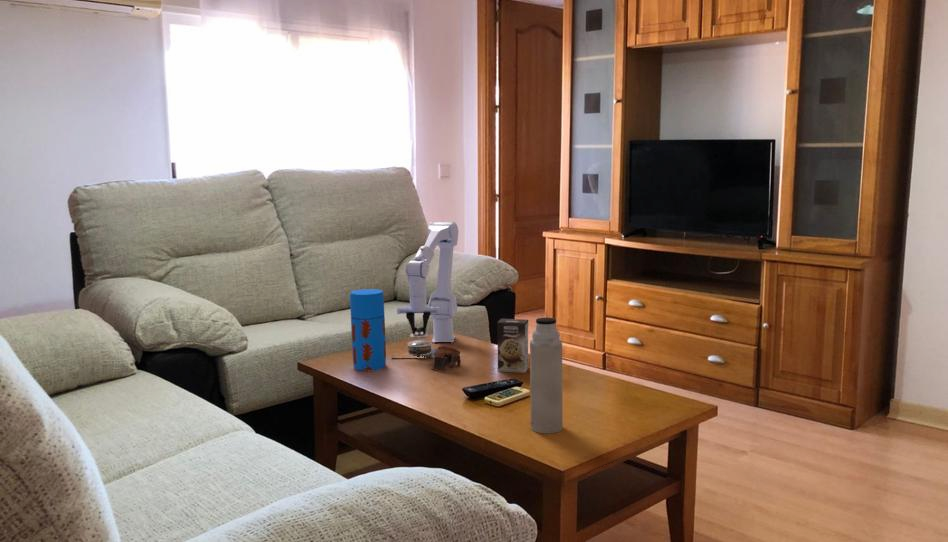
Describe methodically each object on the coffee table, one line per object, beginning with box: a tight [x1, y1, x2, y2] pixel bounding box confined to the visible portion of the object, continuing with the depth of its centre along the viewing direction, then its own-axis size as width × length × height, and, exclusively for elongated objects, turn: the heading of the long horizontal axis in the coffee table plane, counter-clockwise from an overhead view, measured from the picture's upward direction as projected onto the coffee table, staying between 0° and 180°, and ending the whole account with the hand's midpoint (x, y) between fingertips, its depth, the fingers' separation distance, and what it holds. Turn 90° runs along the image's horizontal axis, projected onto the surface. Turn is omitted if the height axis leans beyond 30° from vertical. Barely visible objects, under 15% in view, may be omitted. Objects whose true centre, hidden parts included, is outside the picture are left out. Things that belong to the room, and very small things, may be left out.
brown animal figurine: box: [431, 345, 462, 372], centre depth 253 cm, size 12×10×8 cm
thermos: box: [349, 288, 387, 372], centre depth 255 cm, size 11×11×25 cm
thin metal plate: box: [391, 339, 438, 359], centre depth 272 cm, size 13×18×4 cm
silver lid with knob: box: [409, 326, 429, 339], centre depth 272 cm, size 6×6×3 cm
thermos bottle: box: [529, 317, 564, 434], centre depth 194 cm, size 8×8×28 cm
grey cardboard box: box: [497, 318, 529, 374], centre depth 249 cm, size 9×6×16 cm
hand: (419, 333), depth 272 cm, fingers closed on silver lid with knob, 3 cm apart
